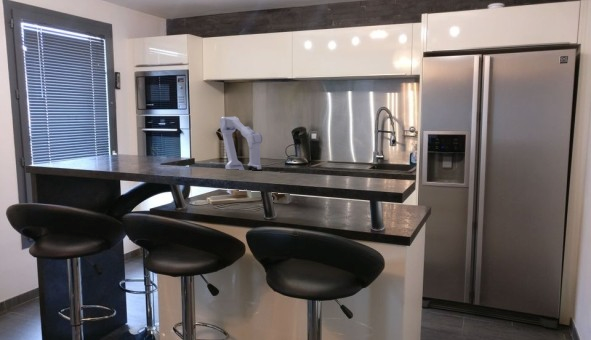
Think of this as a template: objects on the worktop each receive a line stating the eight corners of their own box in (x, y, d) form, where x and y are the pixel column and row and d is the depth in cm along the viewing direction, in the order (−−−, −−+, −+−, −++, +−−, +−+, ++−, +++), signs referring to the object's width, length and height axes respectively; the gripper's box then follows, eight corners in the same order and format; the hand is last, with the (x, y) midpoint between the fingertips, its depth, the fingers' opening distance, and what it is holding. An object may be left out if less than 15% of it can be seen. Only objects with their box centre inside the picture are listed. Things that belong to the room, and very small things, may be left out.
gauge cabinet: (246, 194, 248) (246, 187, 248) (258, 193, 251) (258, 186, 250) (251, 197, 241) (251, 190, 240) (263, 196, 244) (263, 189, 243)
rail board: (206, 200, 240) (206, 195, 240) (259, 195, 253) (259, 190, 252) (211, 204, 231) (211, 198, 231) (266, 199, 244) (266, 194, 243)
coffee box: (270, 202, 236) (270, 172, 234) (275, 200, 242) (275, 170, 240) (287, 204, 233) (287, 173, 231) (291, 201, 239) (291, 171, 237)
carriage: (231, 196, 243) (231, 182, 242) (243, 194, 246) (243, 182, 245) (234, 198, 238) (234, 184, 237) (247, 197, 241) (247, 183, 240)
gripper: (243, 154, 247) (243, 178, 250) (252, 157, 234) (252, 183, 237) (255, 154, 250) (255, 178, 252) (265, 157, 237) (265, 182, 240)
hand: (255, 180), depth 245 cm, fingers open, 5 cm apart
